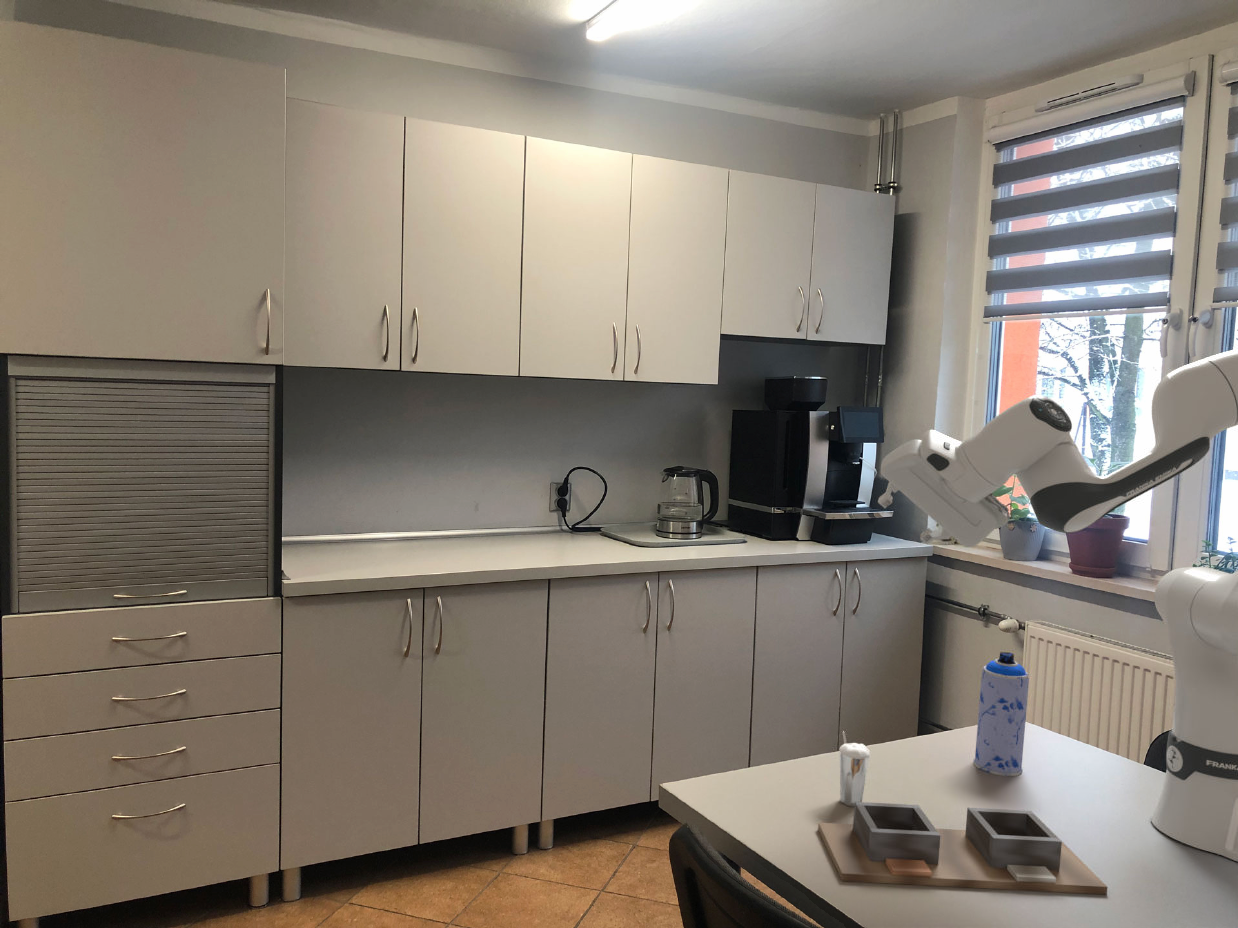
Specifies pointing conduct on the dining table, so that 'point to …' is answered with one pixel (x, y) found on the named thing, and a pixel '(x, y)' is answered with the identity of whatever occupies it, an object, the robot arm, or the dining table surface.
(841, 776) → the milkshake
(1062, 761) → the dining table surface
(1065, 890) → the port board
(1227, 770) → the robot arm
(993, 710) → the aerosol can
